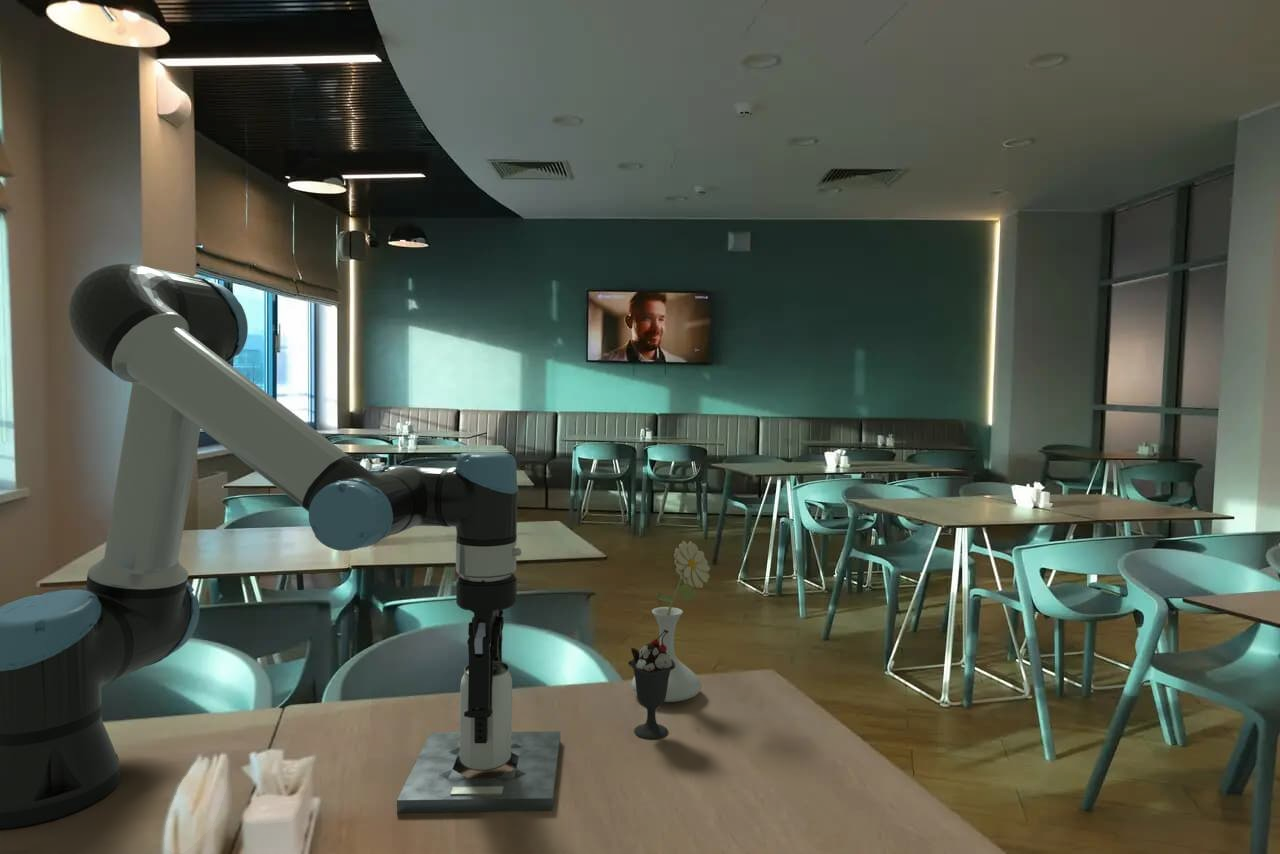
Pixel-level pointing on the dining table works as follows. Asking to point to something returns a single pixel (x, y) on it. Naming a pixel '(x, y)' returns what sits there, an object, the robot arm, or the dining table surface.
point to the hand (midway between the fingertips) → (485, 752)
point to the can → (500, 718)
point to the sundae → (651, 684)
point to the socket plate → (513, 791)
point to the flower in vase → (693, 573)
